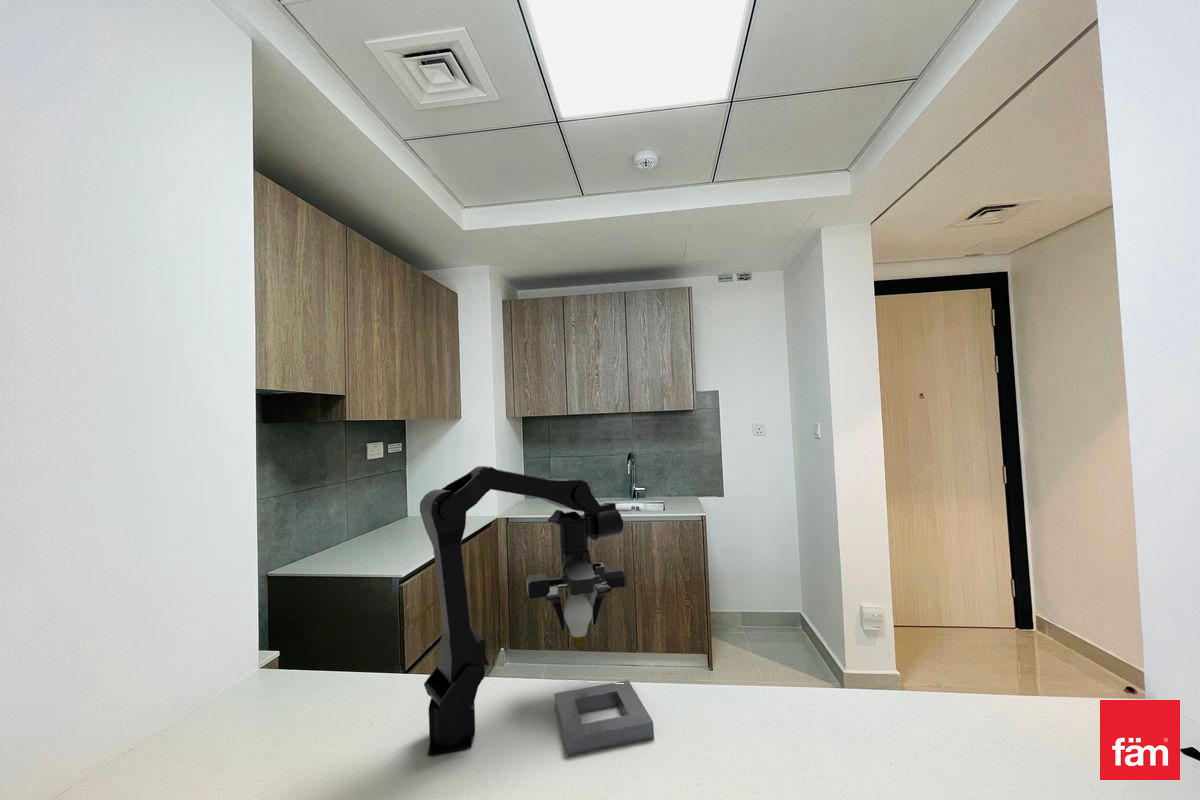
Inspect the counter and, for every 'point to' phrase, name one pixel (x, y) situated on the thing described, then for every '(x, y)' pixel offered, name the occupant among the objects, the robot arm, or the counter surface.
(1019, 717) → the counter surface
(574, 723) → the socket collar
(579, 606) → the light bulb
